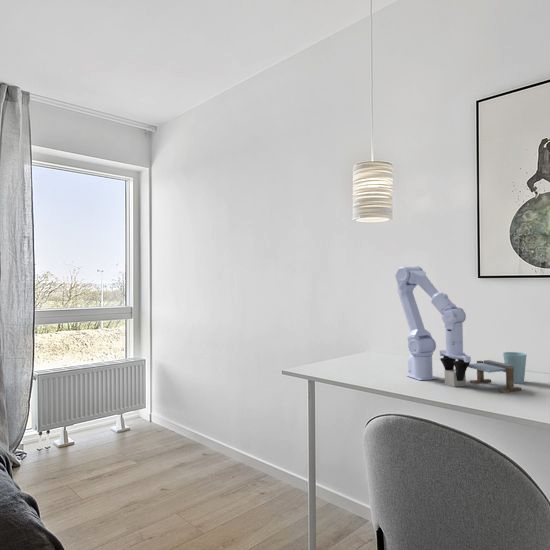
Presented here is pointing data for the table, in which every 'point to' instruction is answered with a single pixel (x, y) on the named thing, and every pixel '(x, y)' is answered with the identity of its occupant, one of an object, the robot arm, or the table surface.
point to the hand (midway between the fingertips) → (455, 378)
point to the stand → (509, 380)
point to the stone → (453, 379)
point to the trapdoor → (491, 366)
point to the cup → (516, 364)
